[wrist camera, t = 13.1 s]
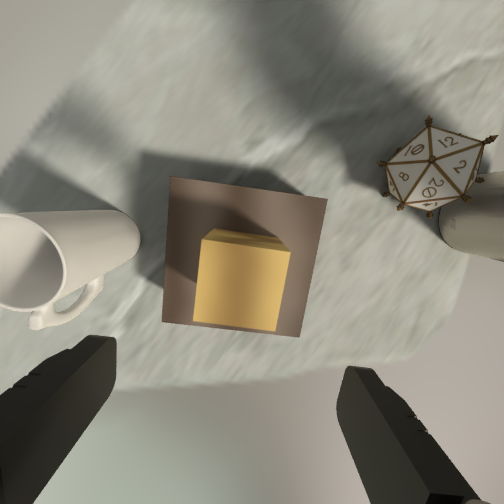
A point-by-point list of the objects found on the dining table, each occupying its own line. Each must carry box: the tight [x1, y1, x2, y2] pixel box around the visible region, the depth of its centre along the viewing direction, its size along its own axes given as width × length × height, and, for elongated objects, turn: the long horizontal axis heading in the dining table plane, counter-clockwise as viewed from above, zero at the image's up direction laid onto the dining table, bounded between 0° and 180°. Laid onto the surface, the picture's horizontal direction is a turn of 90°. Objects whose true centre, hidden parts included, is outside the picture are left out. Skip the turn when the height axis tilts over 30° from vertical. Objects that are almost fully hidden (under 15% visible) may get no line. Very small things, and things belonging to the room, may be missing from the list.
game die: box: [376, 116, 498, 219], centre depth 22 cm, size 9×8×10 cm
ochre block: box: [193, 228, 291, 331], centre depth 19 cm, size 6×6×6 cm
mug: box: [0, 210, 141, 330], centre depth 22 cm, size 10×7×12 cm, turn 171°
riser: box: [162, 176, 328, 337], centre depth 25 cm, size 14×14×6 cm
